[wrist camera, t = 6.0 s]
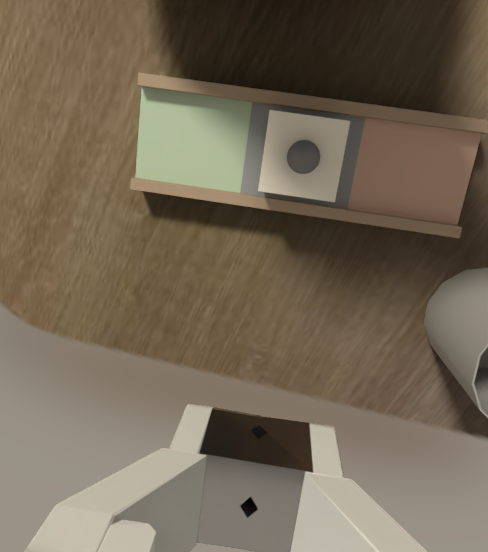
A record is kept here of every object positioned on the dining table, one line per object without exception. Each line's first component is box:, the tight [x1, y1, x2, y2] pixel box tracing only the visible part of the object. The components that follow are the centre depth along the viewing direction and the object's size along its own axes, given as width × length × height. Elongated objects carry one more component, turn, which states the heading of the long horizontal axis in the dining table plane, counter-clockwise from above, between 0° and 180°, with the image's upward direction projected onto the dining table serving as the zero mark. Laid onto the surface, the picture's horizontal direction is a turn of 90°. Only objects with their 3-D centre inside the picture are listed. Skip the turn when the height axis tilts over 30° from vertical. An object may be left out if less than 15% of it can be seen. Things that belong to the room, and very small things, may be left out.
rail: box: [130, 73, 488, 238], centre depth 33 cm, size 8×24×2 cm, turn 82°
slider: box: [258, 110, 350, 202], centre depth 30 cm, size 5×5×5 cm
